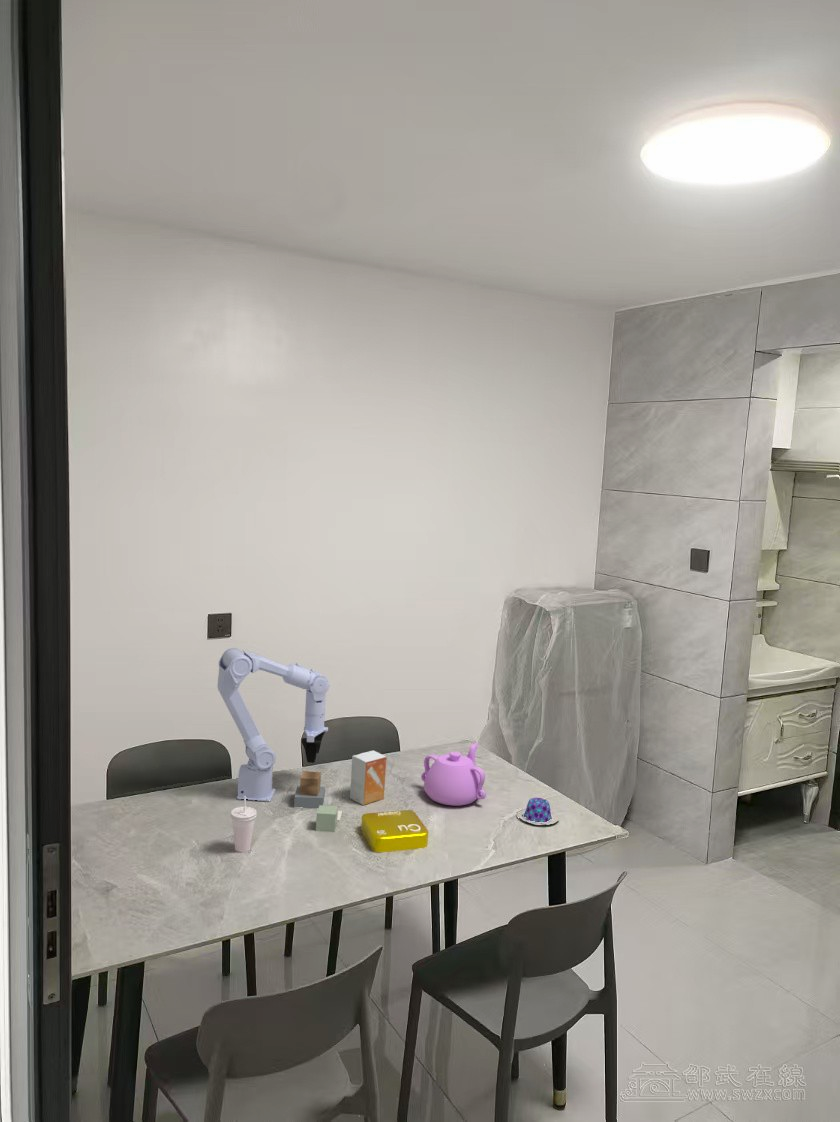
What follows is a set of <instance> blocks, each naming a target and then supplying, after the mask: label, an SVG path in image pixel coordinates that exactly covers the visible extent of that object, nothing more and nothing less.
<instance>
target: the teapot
mask: <svg viewBox="0 0 840 1122" xmlns="http://www.w3.org/2000/svg"><path fill="white" fill-rule="evenodd" d="M478 745H479V743H478V742H474V743H472V745H471V746H470V748H469V750H468V753H467V756H466V755H462V753H461V752H459V751H457V750H456V751H449V753H445V754H441V755H439V756H438V755H436V754H434V753H433V754H432V753H431V754H429V755H427V756H426V757H425V758H424V761H423V766H424V772H422V774H421V775H420V778H421V780H422V782H423V789H424V791H425V793H426V794H427V795H428V797H429V798H430V799H431V800H432V801H434V802H436V803H438V804H441V805H445V806H452V807H453V806H454V807H455V806H459V807H461V806H466V805H470V804H472V803H474V802H475V801H476V800H477V799H479V800H484V799H485V798H486V796H487V791H486V790H484V789H483V786H484V784H485V779H486V774H485V771H484V770H483V768H481V767H479V766H477V764H476V763H477V762H476V751H477V748H478ZM430 759H432V760H434V762H433V763H432V765H430Z"/></svg>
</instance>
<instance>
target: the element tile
mask: <svg viewBox="0 0 840 1122" xmlns="http://www.w3.org/2000/svg"><path fill="white" fill-rule="evenodd" d="M360 830H361V833H362V834H363V836H364V839H365V840H366V842H367V844H368V846H369V848H370V849H371V851H373V852H375V853H379V854H380V853H390V852H399V851H409V849H410V850H411V849H412V850H419V849H418V848H422V849H426V848H428V846H427V845H428V844H429V843H428V842H429V830H428V829H427V827H426V826H425V824H424V822H423V821H422V820H421V819H420V817H419V816H418V815H417V813H416V812H415V811H413V810H412V809H408V810H407V809H406V810H405V809H404V810H393V811H381V812H380V811H379V812H367V813H364V814H362V815H361V822H360ZM425 847H426V848H425ZM412 850H411V851H412Z"/></svg>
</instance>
